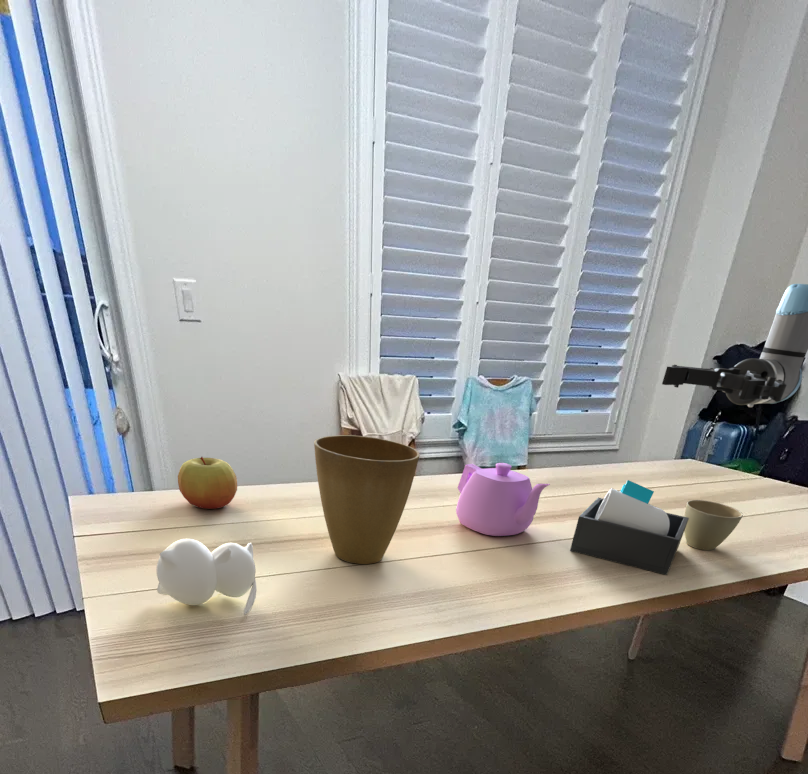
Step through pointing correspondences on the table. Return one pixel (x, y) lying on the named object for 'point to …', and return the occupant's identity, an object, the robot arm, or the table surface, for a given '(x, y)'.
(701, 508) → the flower pot
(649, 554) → the open storage box
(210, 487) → the apple
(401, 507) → the plant pot
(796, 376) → the robot arm
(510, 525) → the teapot
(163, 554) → the cat figurine
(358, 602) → the table surface
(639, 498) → the mug
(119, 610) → the table surface
